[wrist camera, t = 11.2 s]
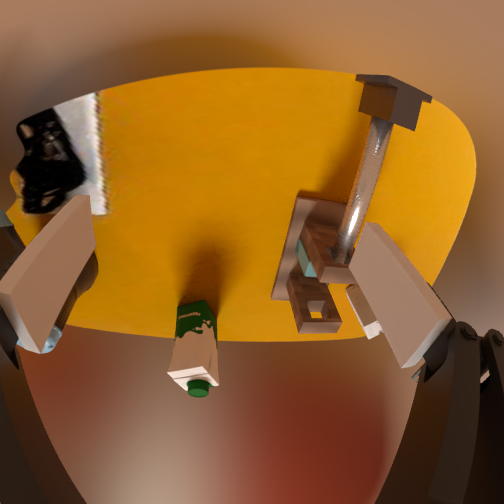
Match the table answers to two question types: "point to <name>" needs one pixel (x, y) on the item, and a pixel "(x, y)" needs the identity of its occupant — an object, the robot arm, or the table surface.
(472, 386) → the robot arm
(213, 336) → the milk carton
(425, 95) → the shaft
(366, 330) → the skincare box
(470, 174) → the table surface
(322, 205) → the bearing stand
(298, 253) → the spacer ring
